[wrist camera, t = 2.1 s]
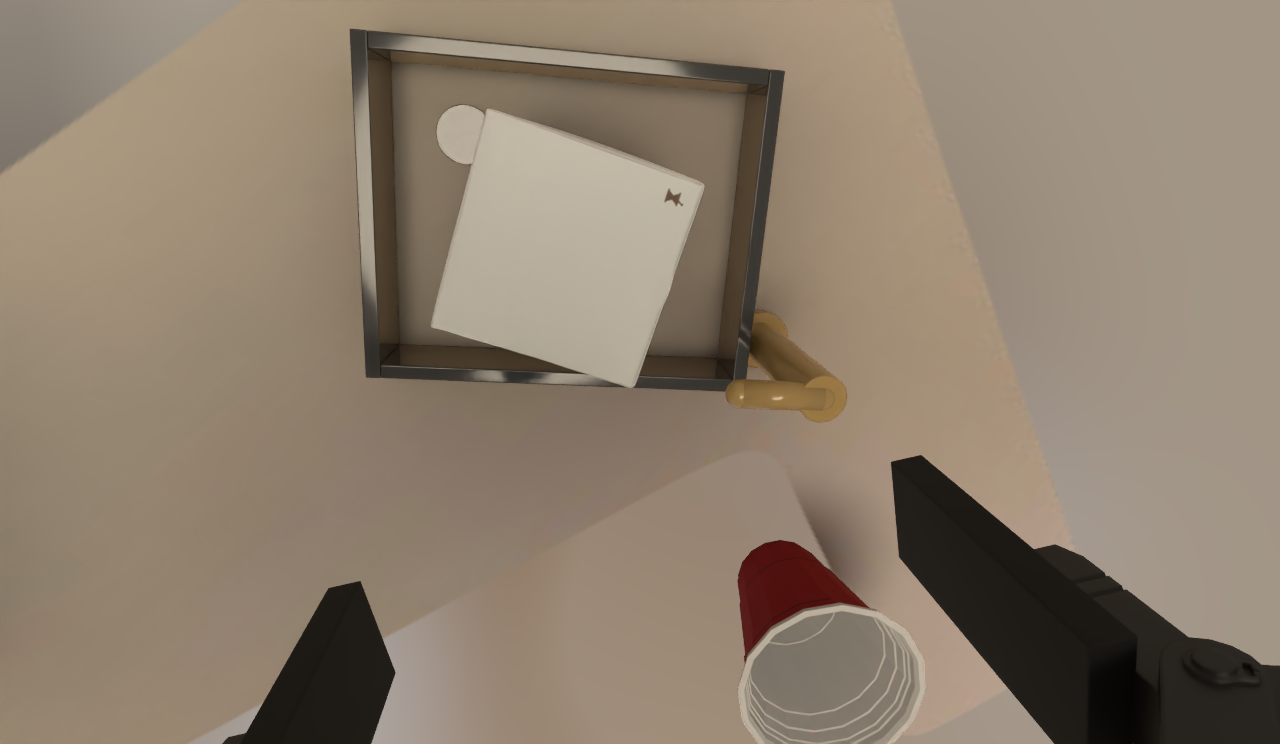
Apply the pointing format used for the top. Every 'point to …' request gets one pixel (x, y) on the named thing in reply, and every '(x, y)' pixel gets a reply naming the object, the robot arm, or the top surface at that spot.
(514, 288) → the rectangular carton
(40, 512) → the top surface
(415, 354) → the sink
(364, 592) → the robot arm
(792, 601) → the plastic cup
